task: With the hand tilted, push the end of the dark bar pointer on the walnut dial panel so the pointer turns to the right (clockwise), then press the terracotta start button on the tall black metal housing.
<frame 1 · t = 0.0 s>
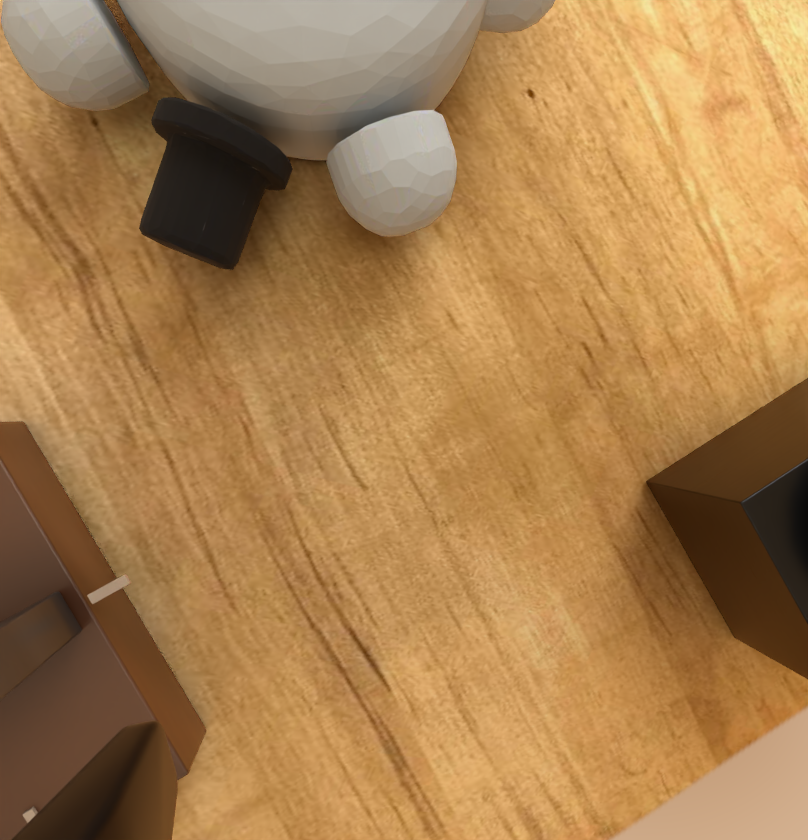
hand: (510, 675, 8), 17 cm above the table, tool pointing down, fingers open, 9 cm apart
figurine: (297, 44, 24), on the table
button box: (783, 499, 27), on the table
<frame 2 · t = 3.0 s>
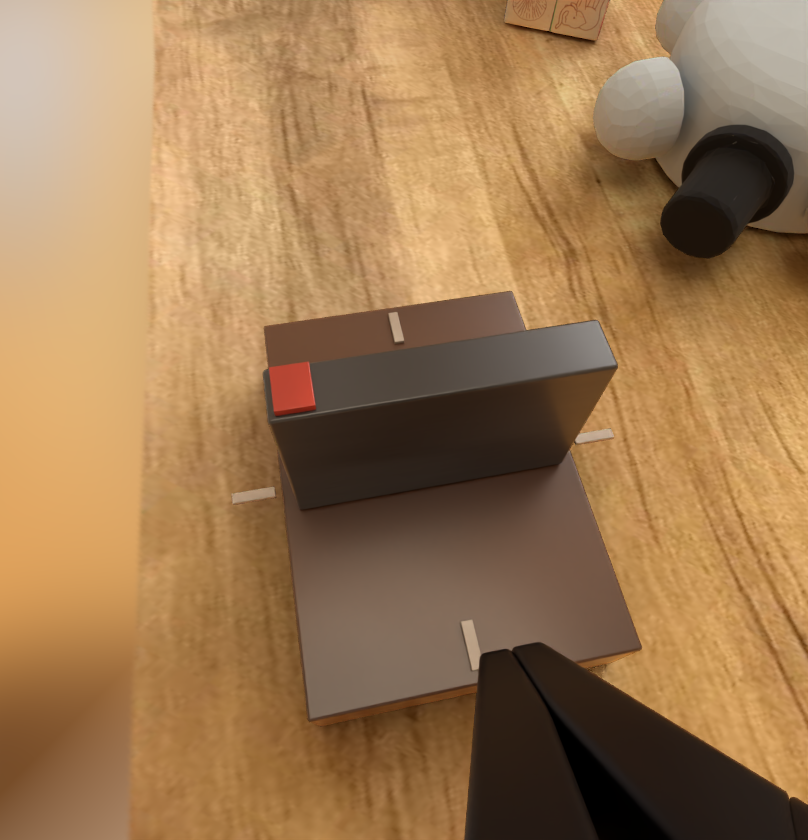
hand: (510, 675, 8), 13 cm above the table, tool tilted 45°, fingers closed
dial pointer: (435, 421, 18), point 6 cm above the table, hinge at 90.0°
figurine: (748, 172, 33), on the table
dial panel: (424, 498, 24), on the table
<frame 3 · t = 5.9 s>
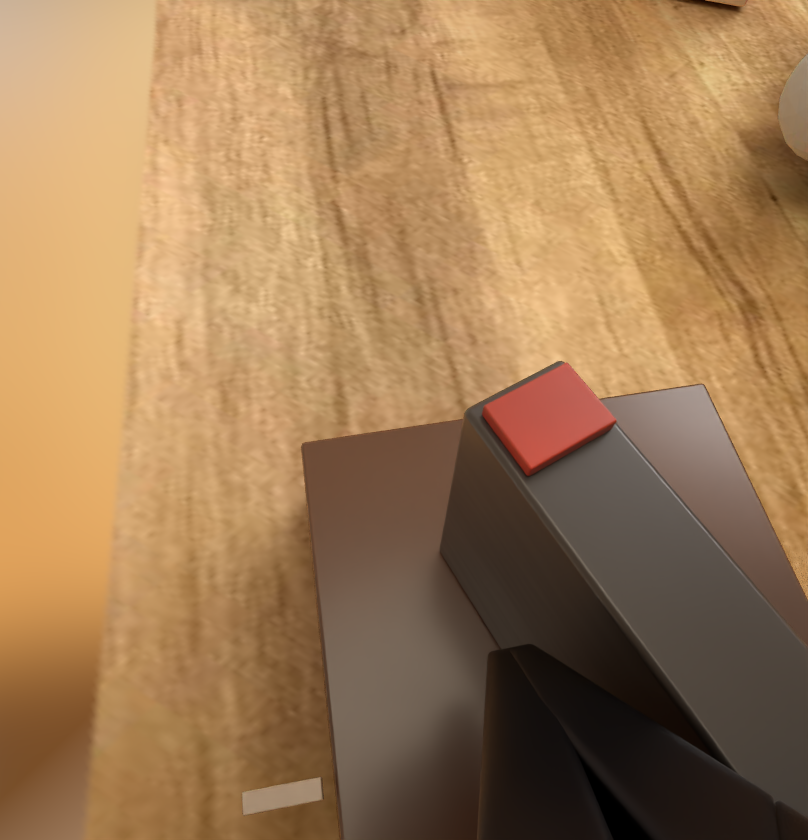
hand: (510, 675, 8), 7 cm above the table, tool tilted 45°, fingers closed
dial pointer: (666, 725, 9), point 6 cm above the table, hinge at 20.8°, touching gripper
dial panel: (564, 737, 14), on the table
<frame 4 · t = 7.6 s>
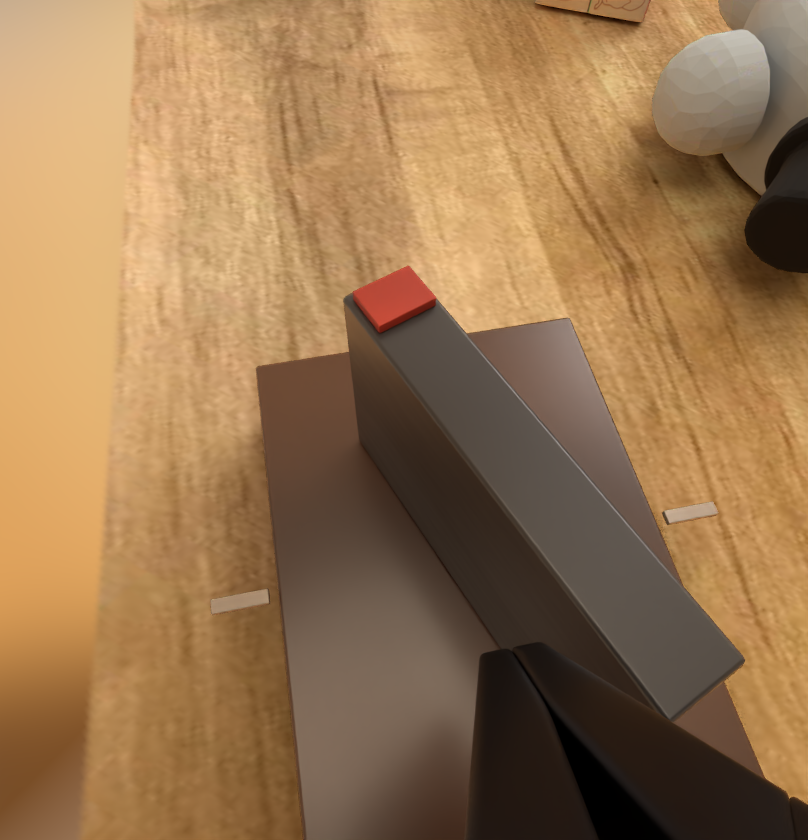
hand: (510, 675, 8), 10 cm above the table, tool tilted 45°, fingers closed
dial pointer: (490, 511, 13), point 6 cm above the table, hinge at 21.2°
dial panel: (462, 586, 18), on the table
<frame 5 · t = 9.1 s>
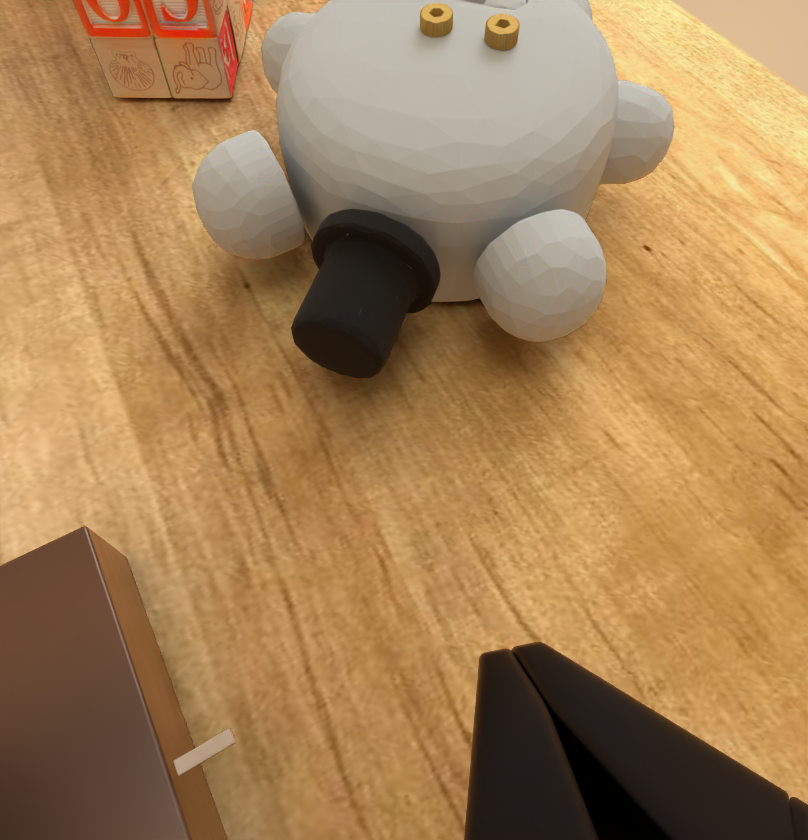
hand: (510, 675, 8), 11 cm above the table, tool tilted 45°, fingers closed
figurine: (427, 227, 28), on the table
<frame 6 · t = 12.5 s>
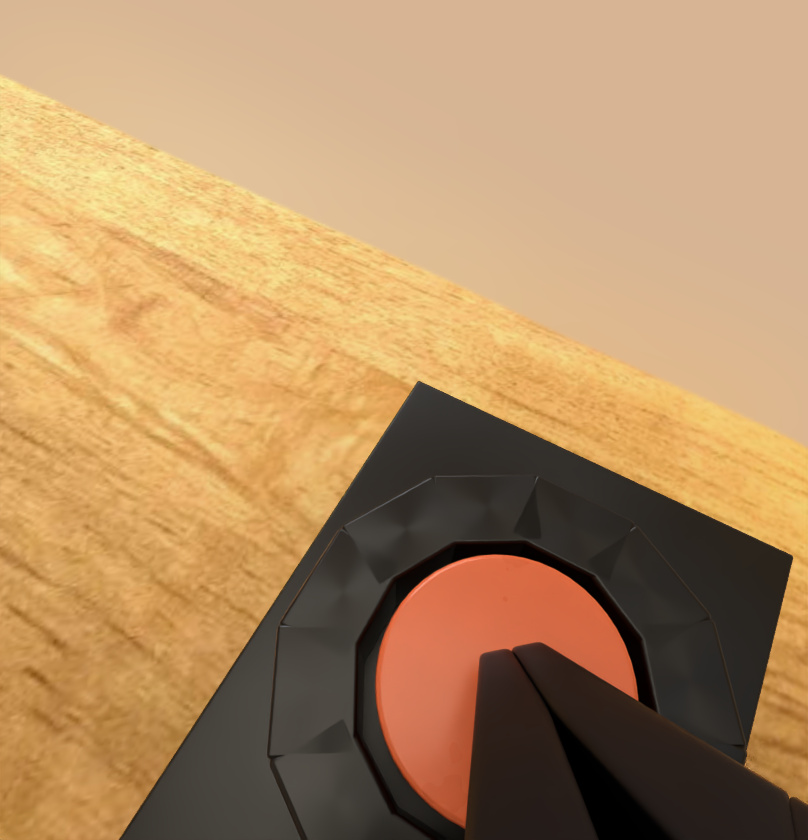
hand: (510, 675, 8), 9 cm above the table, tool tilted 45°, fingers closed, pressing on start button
start button: (497, 688, 9), point 7 cm above the table, slide at -0.9 cm, touching gripper
button box: (455, 722, 16), on the table
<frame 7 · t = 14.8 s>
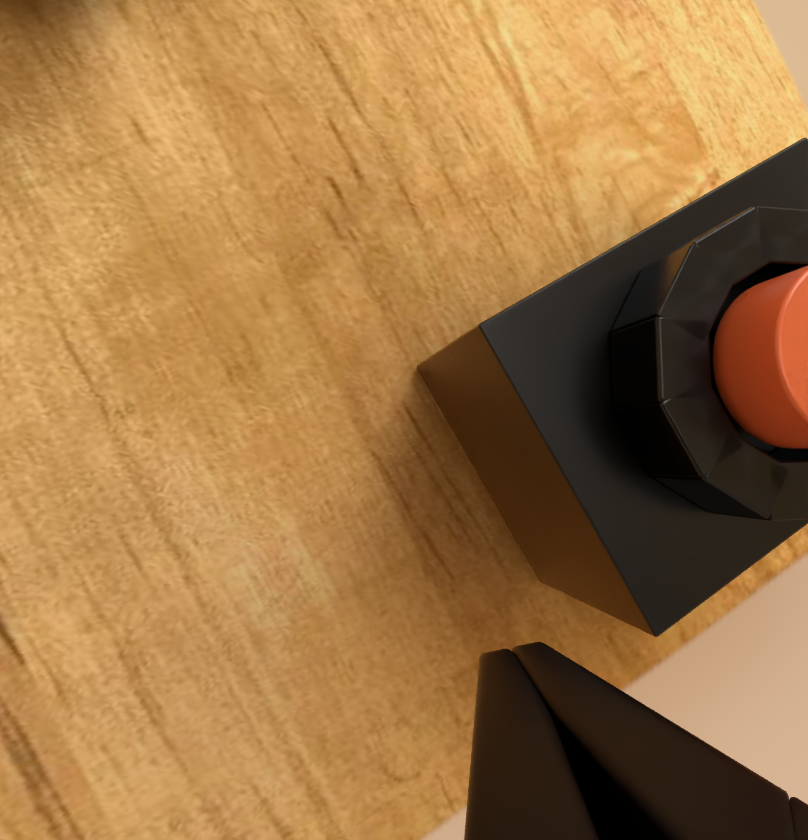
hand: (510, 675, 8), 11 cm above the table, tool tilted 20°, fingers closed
button box: (601, 398, 20), on the table
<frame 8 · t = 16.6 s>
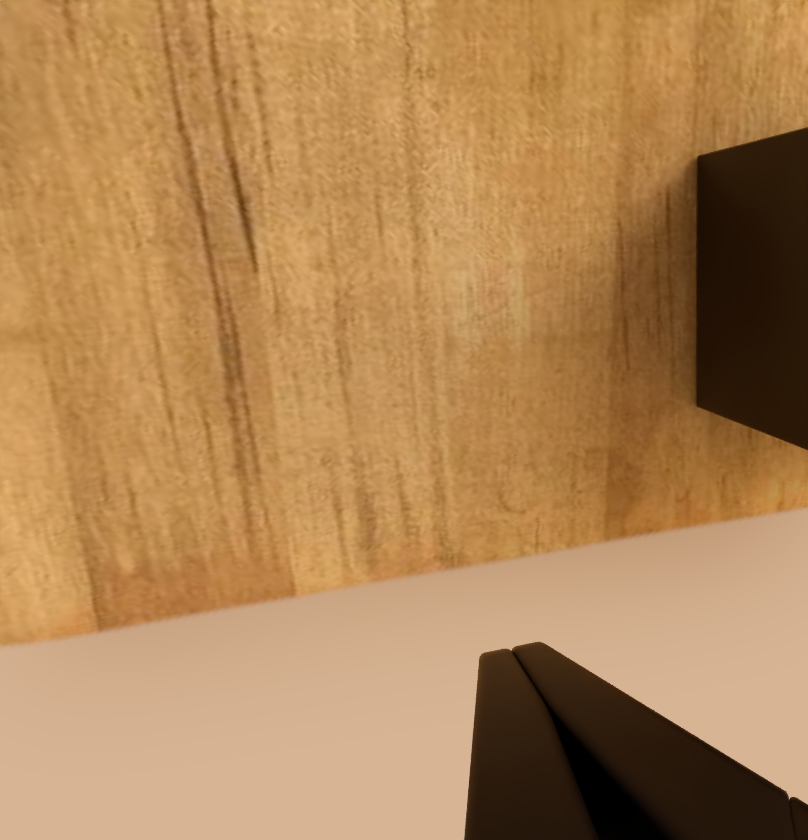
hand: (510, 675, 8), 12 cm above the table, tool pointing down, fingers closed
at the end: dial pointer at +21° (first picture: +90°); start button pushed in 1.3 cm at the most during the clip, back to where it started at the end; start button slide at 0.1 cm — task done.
